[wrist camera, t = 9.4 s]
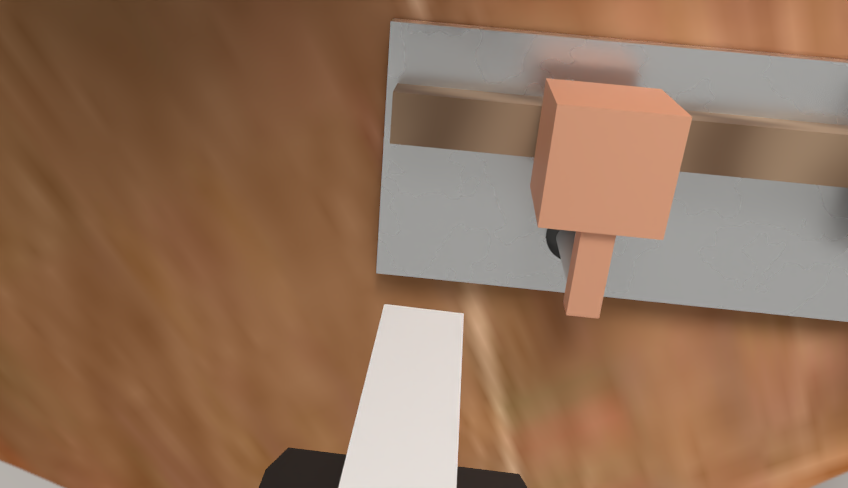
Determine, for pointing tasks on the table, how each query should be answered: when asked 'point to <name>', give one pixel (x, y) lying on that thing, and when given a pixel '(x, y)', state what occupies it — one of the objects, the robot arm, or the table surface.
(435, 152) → the bolt plate
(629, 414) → the table surface
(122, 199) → the table surface
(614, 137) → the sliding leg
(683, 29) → the table surface
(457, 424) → the robot arm
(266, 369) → the table surface
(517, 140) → the rail and fixed leg
